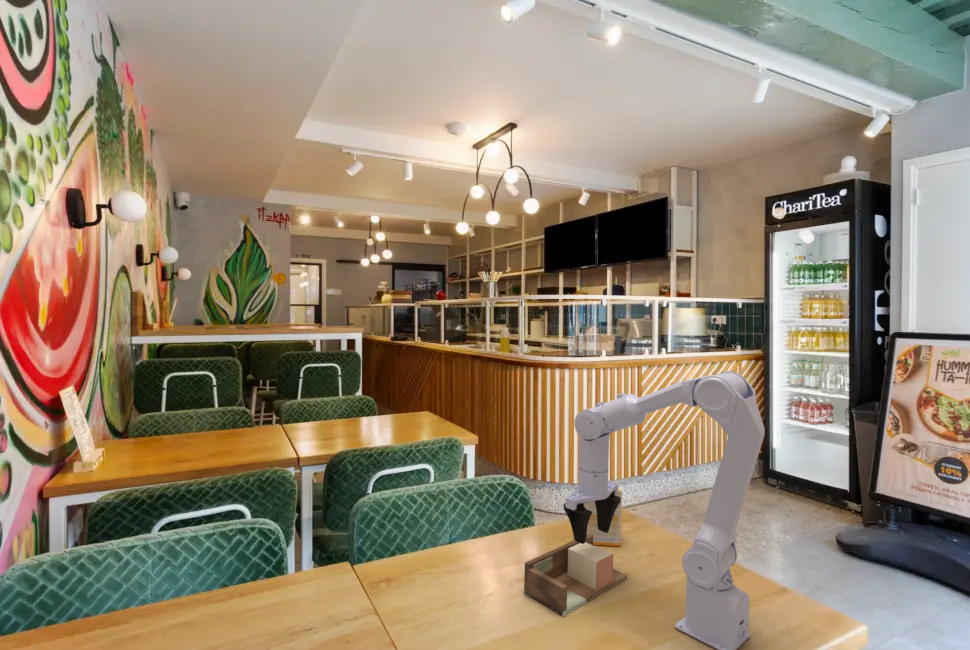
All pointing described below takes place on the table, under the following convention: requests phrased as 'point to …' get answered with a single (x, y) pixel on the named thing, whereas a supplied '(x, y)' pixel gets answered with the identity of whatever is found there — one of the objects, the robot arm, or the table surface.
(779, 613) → the table surface
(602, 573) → the cream rectangular block
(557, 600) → the shelf
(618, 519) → the supplement box
